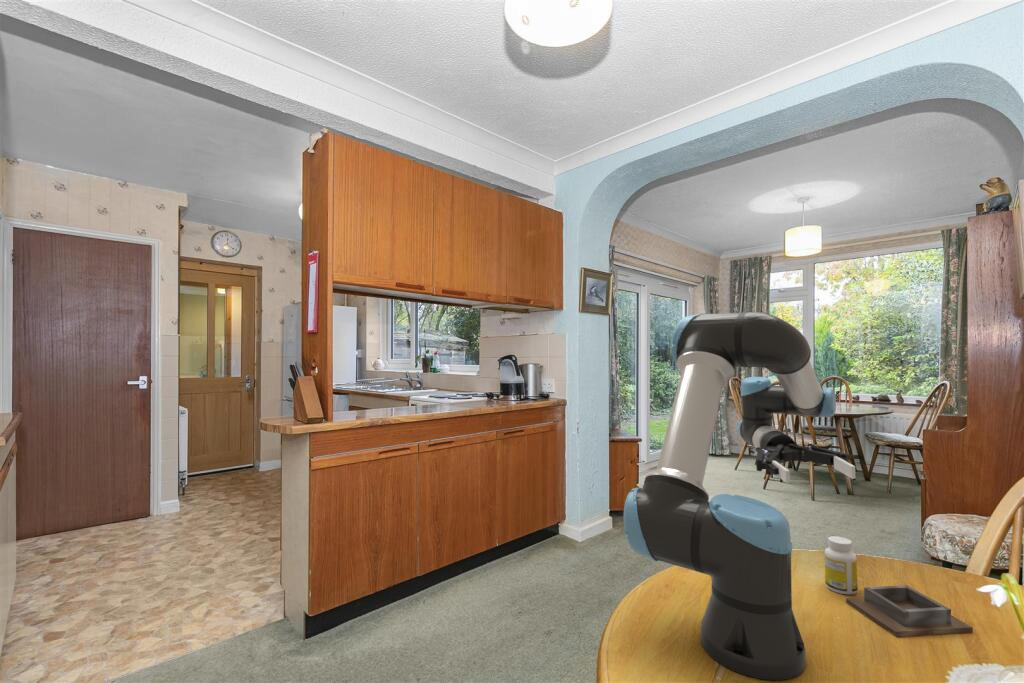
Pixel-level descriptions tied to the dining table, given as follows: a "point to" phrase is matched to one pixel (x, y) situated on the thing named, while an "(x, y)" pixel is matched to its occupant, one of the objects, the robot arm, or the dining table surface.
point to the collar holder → (907, 612)
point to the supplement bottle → (840, 566)
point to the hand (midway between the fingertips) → (820, 474)
